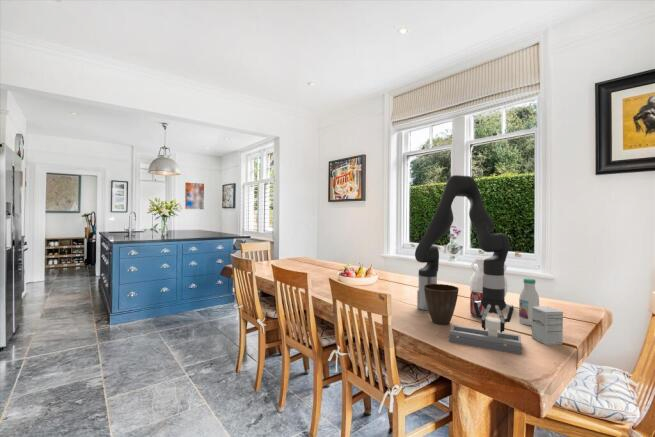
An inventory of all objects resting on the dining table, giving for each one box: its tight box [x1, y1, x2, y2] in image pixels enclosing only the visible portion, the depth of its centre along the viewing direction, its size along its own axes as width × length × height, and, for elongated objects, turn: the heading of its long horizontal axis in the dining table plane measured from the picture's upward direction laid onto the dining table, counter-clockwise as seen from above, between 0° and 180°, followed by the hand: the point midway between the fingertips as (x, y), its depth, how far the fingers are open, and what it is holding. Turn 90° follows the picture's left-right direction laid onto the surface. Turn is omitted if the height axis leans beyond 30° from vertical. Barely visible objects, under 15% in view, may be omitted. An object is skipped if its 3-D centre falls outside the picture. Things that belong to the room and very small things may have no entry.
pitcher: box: [469, 256, 509, 297], centre depth 180 cm, size 19×18×25 cm
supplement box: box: [531, 305, 564, 346], centre depth 127 cm, size 7×7×13 cm
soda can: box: [469, 290, 485, 318], centre depth 159 cm, size 7×7×12 cm
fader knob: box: [485, 316, 501, 337], centre depth 124 cm, size 5×5×7 cm
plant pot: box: [424, 283, 459, 326], centre depth 149 cm, size 15×15×16 cm
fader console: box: [448, 324, 522, 355], centre depth 126 cm, size 24×12×4 cm, turn 61°
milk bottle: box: [518, 277, 540, 327], centre depth 147 cm, size 8×8×20 cm
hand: (493, 330), depth 124 cm, fingers closed on fader knob, 5 cm apart
